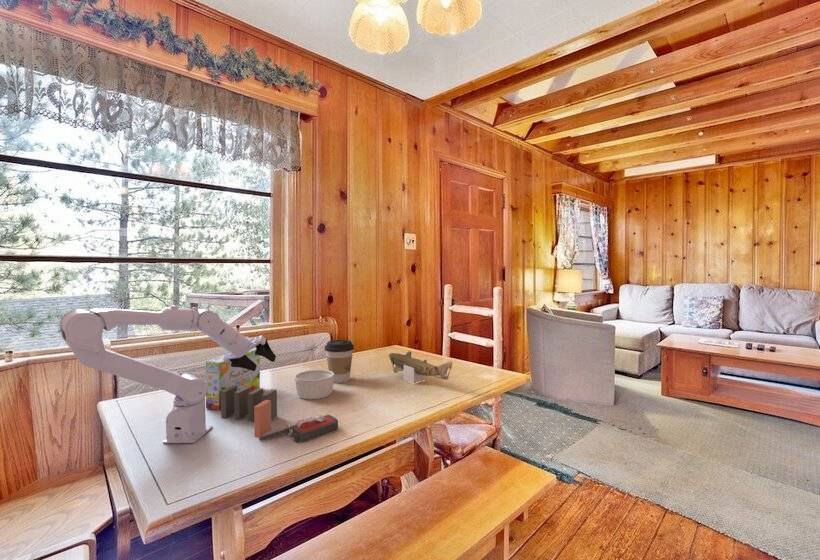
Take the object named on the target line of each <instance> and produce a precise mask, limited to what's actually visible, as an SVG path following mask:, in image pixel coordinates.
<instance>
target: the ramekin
mask: <svg viewBox="0 0 820 560" xmlns="http://www.w3.org/2000/svg"><path fill="white" fill-rule="evenodd" d="M333 379H334V373H333V372H331V371H329V370H327V369H310V370H309V369H308V370H304V371H300V372H298V373H296V374H295V375H294V382H295V387H296V392H297V393H296V394H297V396H299V398H301V399H303V400H311V401H312V399H314V400H320V398H321V399H324V398H326V397H329V396H331V394H332V393H333V389H334V388H333V387H334V386H333V385H334V383H333Z"/></svg>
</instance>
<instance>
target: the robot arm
mask: <svg viewBox="0 0 820 560" xmlns="http://www.w3.org/2000/svg"><path fill="white" fill-rule="evenodd" d="M89 310H90V311H89ZM89 310H87V309H83V308H82V309H81V308H80V309H79V308H77V309H73V310H69V311H68V312H66V313H64V315H63V316H62V317H61V319H60V321H59V327H60V333H61V338H62V339H63V340H64V342H65V343H66V345H67V346H68V347H69V349H70V350H71V352H72V353H73V355H74V357H76V359H77V360H78V362H79V363H80V364H81V365H82V366H84V367H87V368H90V369H93V370H97V371H100V372H104V373H107V374H111V375H113V376H117V377H120V378H123V379H126V380H128V381H132V382H137V383H140V384H143V385H147V386H149V387H153V388H156V389H160V390H162V391H165V392H167V393H169V394H172V395H174V396H175V397H174V398H173V407H172V408H171V410H170V412H169V413H167V415H166V418H165V433H166V434H165V435H166V438H165V439H163V441H162V443H163V444H194V443H196V442H197V441H199V440H200V438H202V437H203V436H205V434H207V433H208V432H209V431H210V430H211V429H213V425H208V424H206V422H207V421H206V419H207V418H206V395H207V393H208V385H207V383H206V380H205V379H204V380H203V379H201V378H199V377H197V376H196V375H194V374H193V373H191V372H188V371H187V372H186V371H185V372H178V371H177V372H176V371H173V370H168V369H165V368H162V367H160V366H157V365H154V364H151V363H148V362H144V361H142V360H139V359H136V358H133V357H130V356H127V355H124V354H121V353H118V352H115V351H112V350H110V349H107V348H106V347H105V344H104V341H103V333H104V330H105V331H107V332H110V331H111V330H113V329H116V328H117V327H118V326H120V325H122V326H124V325H125V326H126V325H127V326H128V325H129V326H131V325H132V326H135V325H136V326H137V325H138V326H139V325H140V326H141V325H142V326H143V325H144V326H151V325H152V326H153V325H154V326H158V327H159V328H160V329H161V330H162V331H180V332H183V331H184V332H185V331H186V332H187V331H188V332H191V331H193V330H195V331H200V332H201V333H203V334H204V335H206V336H207V337H209V339H210V340H212V341H213V342H215V343H216V344H218V345H219V346H220V347H222V348H223V349H225V350H226V351H228V352H226V353H225V354H224V355H223V356H224V358H223V360H224V361H226V362H227V363H228V362H230V361H231V362H232V363H231V366H232V367H240V368H245V369H248V370H251V371H255V370H256V367H257V365H256V364H255V363H254V362H253V361H252V360H250V359H249V358H248V357H247V356H246V355H245V354H246V353H247V352H249V351H250V350H251V349H253V348H257V349H256V351H255V354H256V355H260V357H263V358H265V359H267V360H269V361H270V362H271V363H272V362H273V363H274V362H275V361H276V358H277V356H276V354H275V352H273V350H272V349H271V347H270V344H269V342H268V339H267V337H265V336H264V335H259V336H255V337H249V336H247V335H246V336H245V335H243V334H242V333H241V332H239V331H238V330H237V329H235V328H234V327H232V326H231V325H230V324H229V323H227V321H224V320H222V319H221V318H220V316H219V314H218V312H214V311H212V310H207V309H204V308H203V309H202V308H199V307H195V306H194V307H192V308H180V307H179V306H178V305H173V304H172V305H170V307H167V306H166V307H164V308H163V309H162V310H160V311H146V310H133V309H123V308H91V309H89Z"/></svg>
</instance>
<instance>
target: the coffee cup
mask: <svg viewBox="0 0 820 560" xmlns="http://www.w3.org/2000/svg"><path fill="white" fill-rule="evenodd" d="M354 349H355V345H354V344H353V342H352V340H349V339H331V340H329V341H327V342H326V345H325V346H324V351H325V354H326V355H325V356H326V361H327V369H328V371H331V372H333V373H334V379H333V384H345V383H347V381H348V382H349V381H350V377H351V370H352V369H351V368H352V359H353V353H354ZM344 382H345V383H344Z"/></svg>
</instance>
